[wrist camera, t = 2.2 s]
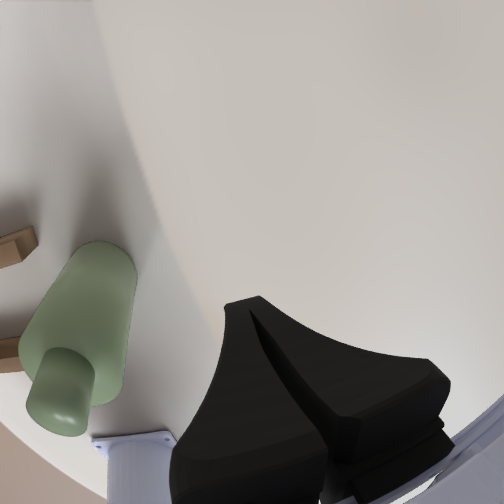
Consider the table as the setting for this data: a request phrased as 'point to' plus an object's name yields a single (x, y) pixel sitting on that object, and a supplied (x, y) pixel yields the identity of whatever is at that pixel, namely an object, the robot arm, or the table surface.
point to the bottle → (79, 338)
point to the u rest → (5, 254)
